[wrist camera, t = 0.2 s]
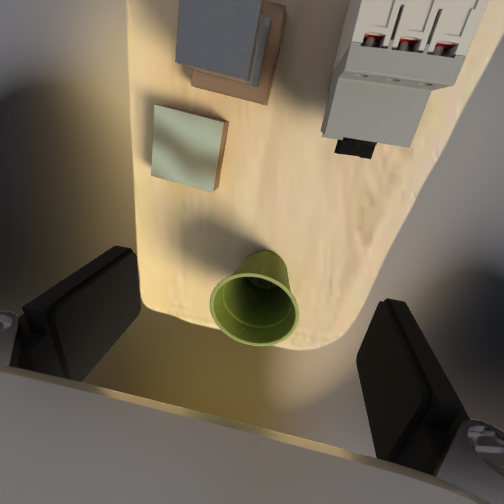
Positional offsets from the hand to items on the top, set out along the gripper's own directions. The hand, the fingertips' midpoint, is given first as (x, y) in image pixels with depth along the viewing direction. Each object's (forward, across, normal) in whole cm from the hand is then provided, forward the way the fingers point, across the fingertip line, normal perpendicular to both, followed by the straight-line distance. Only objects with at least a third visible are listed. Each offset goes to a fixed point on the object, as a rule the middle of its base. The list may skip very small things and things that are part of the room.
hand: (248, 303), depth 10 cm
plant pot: (+31, +1, +16) cm, 35 cm away
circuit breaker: (+31, -7, -11) cm, 33 cm away
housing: (+27, +8, -12) cm, 31 cm away
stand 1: (+31, +14, -1) cm, 34 cm away
